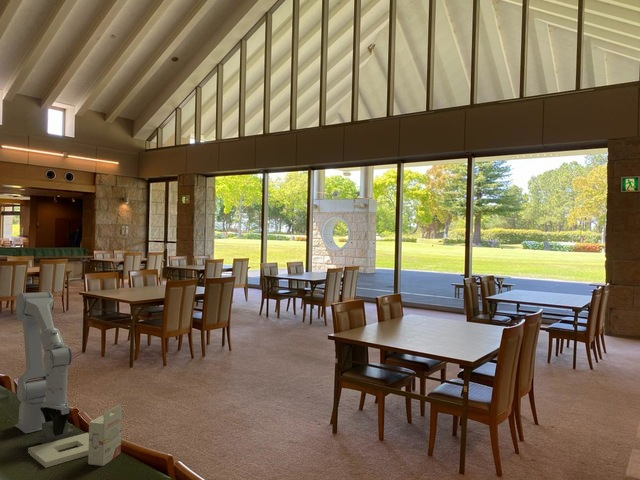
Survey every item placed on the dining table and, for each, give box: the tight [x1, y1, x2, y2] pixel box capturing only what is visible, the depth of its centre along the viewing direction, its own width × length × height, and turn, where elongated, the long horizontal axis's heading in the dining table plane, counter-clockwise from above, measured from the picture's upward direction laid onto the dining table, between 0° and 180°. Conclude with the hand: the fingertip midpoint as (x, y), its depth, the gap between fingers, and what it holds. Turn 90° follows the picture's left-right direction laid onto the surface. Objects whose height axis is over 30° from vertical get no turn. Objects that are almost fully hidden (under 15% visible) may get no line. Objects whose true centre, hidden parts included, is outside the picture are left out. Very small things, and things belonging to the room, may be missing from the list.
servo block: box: [34, 420, 75, 445], centre depth 151 cm, size 4×10×7 cm, turn 139°
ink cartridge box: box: [87, 403, 123, 467], centre depth 141 cm, size 9×5×15 cm, turn 168°
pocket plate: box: [27, 432, 89, 469], centre depth 145 cm, size 13×17×2 cm
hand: (54, 432), depth 151 cm, fingers open, 5 cm apart
